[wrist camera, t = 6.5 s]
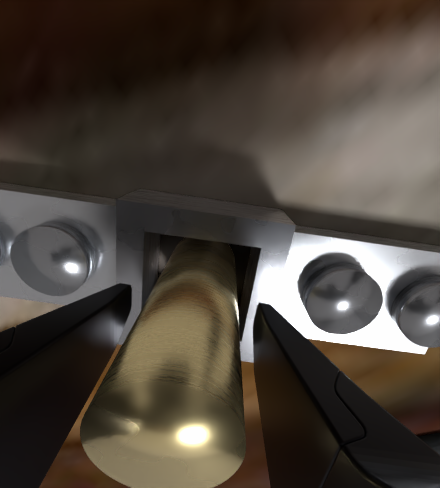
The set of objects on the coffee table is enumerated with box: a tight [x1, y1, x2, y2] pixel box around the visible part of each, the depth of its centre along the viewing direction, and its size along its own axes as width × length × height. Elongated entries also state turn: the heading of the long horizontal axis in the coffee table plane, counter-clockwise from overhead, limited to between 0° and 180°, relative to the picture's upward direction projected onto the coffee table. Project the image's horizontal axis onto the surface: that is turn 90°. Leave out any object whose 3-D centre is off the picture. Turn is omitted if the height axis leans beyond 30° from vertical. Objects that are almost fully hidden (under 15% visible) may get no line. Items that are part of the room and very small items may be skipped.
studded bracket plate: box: [0, 182, 440, 362], centre depth 11 cm, size 23×6×2 cm, turn 82°
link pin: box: [80, 237, 246, 488], centre depth 8 cm, size 3×3×8 cm
